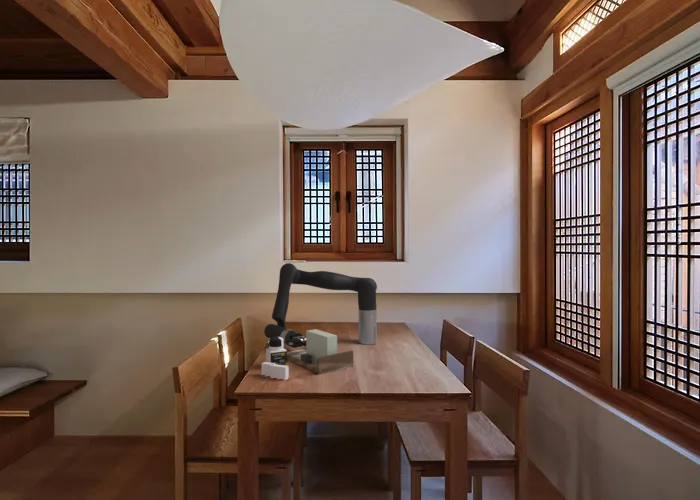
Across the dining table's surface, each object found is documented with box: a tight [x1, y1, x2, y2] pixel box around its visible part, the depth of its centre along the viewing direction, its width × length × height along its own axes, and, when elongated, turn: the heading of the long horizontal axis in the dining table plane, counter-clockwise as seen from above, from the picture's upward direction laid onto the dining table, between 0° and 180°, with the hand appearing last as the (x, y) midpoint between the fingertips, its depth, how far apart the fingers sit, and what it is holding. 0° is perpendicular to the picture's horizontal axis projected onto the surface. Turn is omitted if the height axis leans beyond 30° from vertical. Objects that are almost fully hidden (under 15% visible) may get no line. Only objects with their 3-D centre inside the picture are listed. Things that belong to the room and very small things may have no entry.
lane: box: [287, 348, 354, 375], centre depth 186 cm, size 36×17×6 cm, turn 38°
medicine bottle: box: [265, 337, 288, 366], centre depth 178 cm, size 7×7×12 cm
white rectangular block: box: [261, 361, 290, 381], centre depth 165 cm, size 15×11×6 cm
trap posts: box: [301, 353, 312, 364], centre depth 183 cm, size 4×15×4 cm, turn 128°
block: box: [305, 328, 338, 364], centre depth 180 cm, size 16×5×13 cm, turn 38°
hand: (311, 345), depth 187 cm, fingers closed
